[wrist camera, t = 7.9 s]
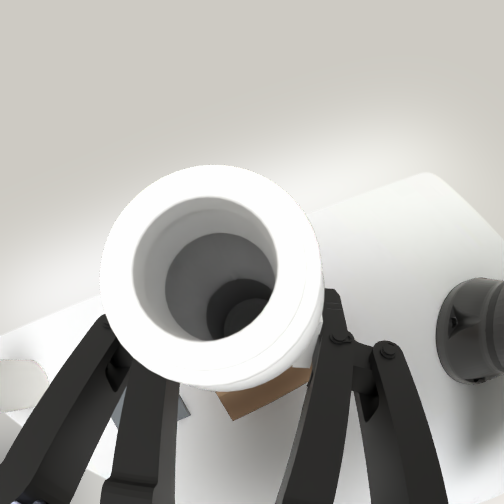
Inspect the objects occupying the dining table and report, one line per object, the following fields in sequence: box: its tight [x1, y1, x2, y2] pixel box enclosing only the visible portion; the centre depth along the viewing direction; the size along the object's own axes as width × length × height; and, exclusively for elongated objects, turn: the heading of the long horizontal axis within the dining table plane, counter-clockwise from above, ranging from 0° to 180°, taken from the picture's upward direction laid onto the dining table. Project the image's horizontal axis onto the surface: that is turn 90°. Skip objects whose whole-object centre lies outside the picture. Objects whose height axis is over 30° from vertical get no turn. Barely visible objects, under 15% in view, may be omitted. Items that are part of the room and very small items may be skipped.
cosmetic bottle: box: [100, 165, 324, 392], centre depth 13 cm, size 6×6×22 cm
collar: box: [215, 363, 312, 421], centre depth 31 cm, size 14×14×4 cm
